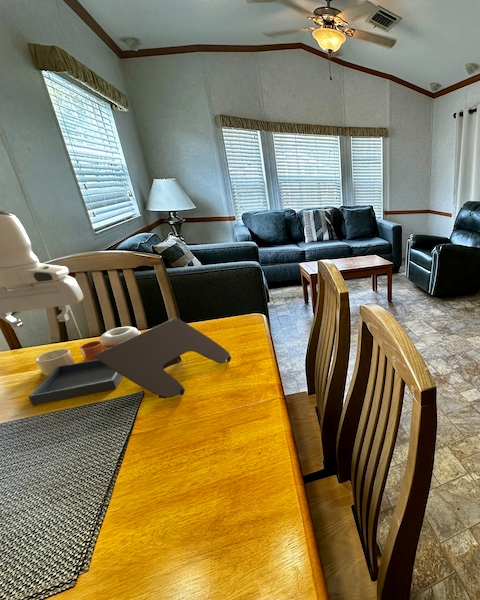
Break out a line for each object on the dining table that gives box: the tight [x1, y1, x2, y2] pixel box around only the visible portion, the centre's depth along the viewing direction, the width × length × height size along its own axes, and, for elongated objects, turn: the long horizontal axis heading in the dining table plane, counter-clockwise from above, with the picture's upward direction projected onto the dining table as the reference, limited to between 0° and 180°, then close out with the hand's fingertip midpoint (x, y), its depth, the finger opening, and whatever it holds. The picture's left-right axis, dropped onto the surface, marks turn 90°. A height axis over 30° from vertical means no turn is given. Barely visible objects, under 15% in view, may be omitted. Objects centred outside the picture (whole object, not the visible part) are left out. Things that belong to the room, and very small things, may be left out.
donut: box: [99, 326, 140, 347], centre depth 108 cm, size 10×4×10 cm
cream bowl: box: [35, 348, 76, 376], centre depth 92 cm, size 7×7×4 cm
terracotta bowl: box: [79, 340, 106, 361], centre depth 98 cm, size 5×5×4 cm
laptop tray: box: [93, 317, 232, 399], centre depth 90 cm, size 23×23×9 cm
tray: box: [28, 359, 124, 406], centre depth 87 cm, size 16×14×3 cm
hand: (41, 323), depth 88 cm, fingers open, 8 cm apart
